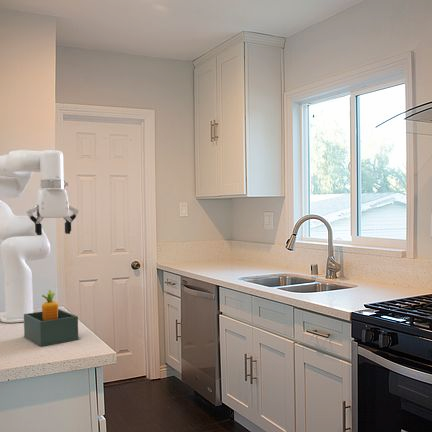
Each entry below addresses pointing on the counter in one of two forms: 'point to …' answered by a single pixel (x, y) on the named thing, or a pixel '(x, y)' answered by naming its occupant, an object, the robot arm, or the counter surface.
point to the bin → (51, 328)
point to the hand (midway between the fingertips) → (53, 234)
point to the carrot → (49, 307)
